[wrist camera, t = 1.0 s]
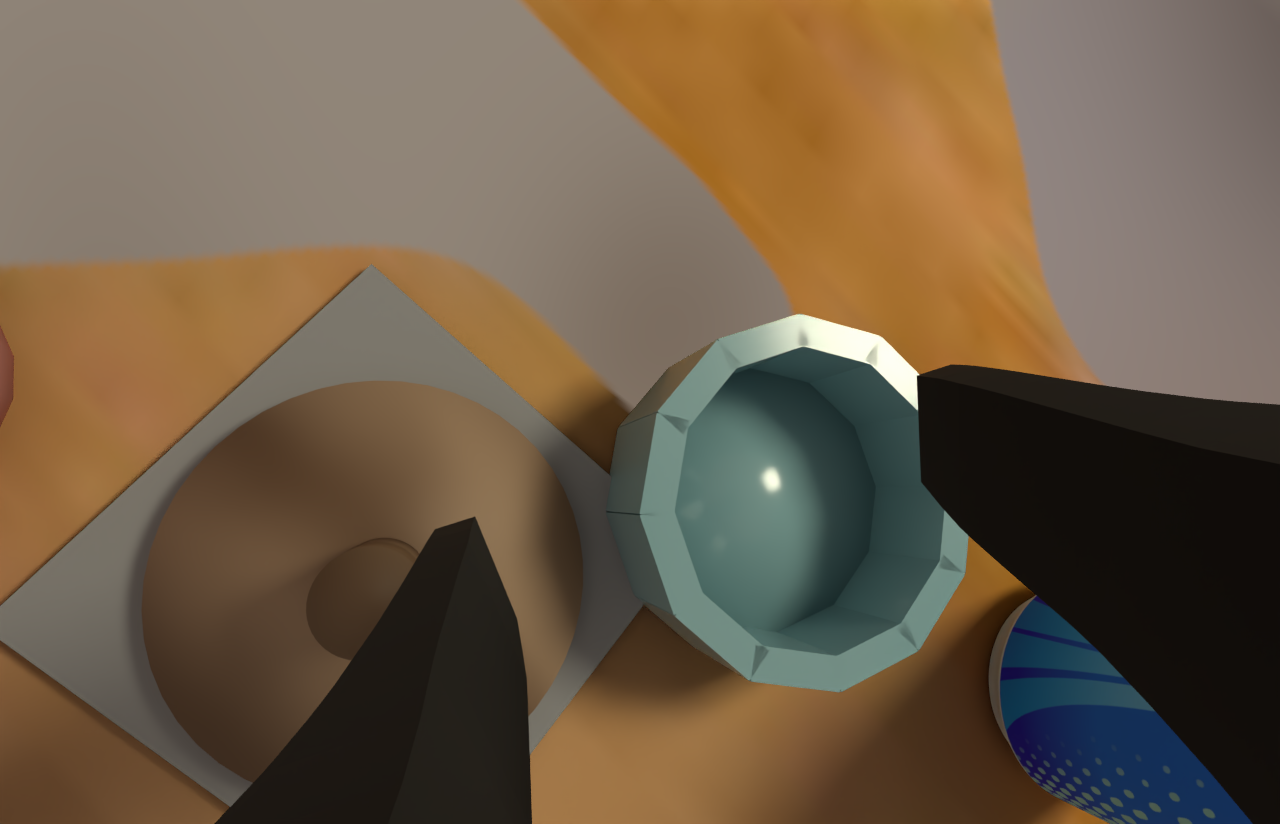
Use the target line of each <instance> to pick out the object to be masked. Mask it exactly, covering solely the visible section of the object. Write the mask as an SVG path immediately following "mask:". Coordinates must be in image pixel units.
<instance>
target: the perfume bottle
mask: <svg viewBox="0 0 1280 824" xmlns="http://www.w3.org/2000/svg"><path fill="white" fill-rule="evenodd" d="M13 373H14V356H13V354H12V351H11V349H10V347H9V345H8V342H7V340H6V338H5V336H4V333H3V331H2V329H1V327H0V426H1V424H2V422H3V420H4V417H5V415H6V413H7V411H8V409H9V407H10V404H11V402H12V400H13Z"/></svg>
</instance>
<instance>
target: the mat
mask: <svg viewBox="0 0 1280 824" xmlns="http://www.w3.org/2000/svg"><path fill="white" fill-rule="evenodd" d="M363 381H402V382H409V383H416V384H422V385H428V386H432V387H436V388H439V389H443V390H446V391H450V392H453V393H456V394H458V395H460V396H463V397H465V398H468V399H470V400H472V401H475V402H477V403H479V404H481V405H482V406H484V407H486V408H487V409H489V410H491V411H493V412H494V413H496V414H498V415H499V416H501V417H502V418H503V419H505V420H506V421H507V422H509V423H510V424H511V425H512V426H514V427H515V428H516V429H518V430H519V431H520V432H521V433H522V434H523V435H524V436H525V437H526V438H527V439H528V440H529V441H530V442H531V443H532V444H533V445H534V446H535V447H536V448H537V449H538V451H539V452H540V453H541V455H542V456H543V457H544V458H545V460H546V461H547V462H548V464H549V465H550V466H551V468H552V469H553V471H554V473H555V474H556V476H557V478H558V480H559V481H560V483H561V485H562V487H563V488H564V491H565V493H566V495H567V498H568V500H569V503H570V505H571V507H572V510H573V513H574V517H575V520H576V524H577V528H578V531H579V535H580V542H581V550H582V557H583V590H582V598H581V606H580V613H579V617H578V621H577V625H576V629H575V633H574V637H573V639H572V642H571V645H570V647H569V650H568V652H567V655H566V658H565V660H564V662H563V664H562V666H561V668H560V670H559V672H558V674H557V676H556V678H555V680H554V682H553V683H552V685H551V687H550V688H549V690H548V691H547V693H546V694H545V695H544V697H543V698H542V700H541V701H540V703H539V704H538V706H537V707H536V708H535V710H534V711H533V712H532V713H531V714H530V715H529V716H528V719H529V749H530V754H531V753H532V751H533V750H534V749H535V747H536V746H537V745H538V743H539V742H540V741H541V740H542V738H543V737H544V736H545V734H546V733H547V732H548V730H549V729H550V728H551V726H552V725H553V724H554V722H555V721H556V720H557V718H558V717H559V716H560V714H561V713H562V712H563V711H564V709H565V708H566V707H567V705H568V704H569V703H570V701H571V700H572V699H573V697H574V696H575V695H576V693H577V692H578V691H579V689H580V688H581V687H582V685H583V684H584V683H585V682H586V680H587V679H588V678H589V676H590V675H591V674H592V672H593V671H594V670H595V668H596V667H597V666H598V664H599V663H600V662H601V660H602V659H603V658H604V656H605V655H606V654H607V653H608V651H609V650H610V649H611V647H612V646H613V645H614V643H615V642H616V641H617V639H618V638H619V637H620V635H621V634H622V633H623V631H624V630H625V629H626V627H627V626H628V625H629V624H630V622H631V621H632V620H633V618H634V617H635V616H636V614H637V613H638V612H639V610H640V609H641V608H642V606H643V605H644V603H642V602H641V601H640V600H639V599H638V598H637V597H636V596H635V595H634V594H633V591H632V588H631V585H630V582H629V579H628V576H627V573H626V570H625V568H624V565H623V562H622V559H621V556H620V553H619V550H618V547H617V544H616V541H615V538H614V535H613V532H612V529H611V527H610V524H609V521H608V518H607V515H606V512H608V511H606V506H607V500H608V495H609V489H610V484H611V478H612V477H611V476H610V475H609V474H608V473H607V472H606V471H604V470H603V469H602V468H601V467H600V466H599V465H598V464H597V463H595V462H594V461H593V460H592V459H591V458H590V457H589V456H587V455H586V454H585V453H584V452H583V451H582V450H581V449H580V448H578V447H577V446H576V445H575V444H574V443H573V442H572V441H571V440H569V439H568V438H567V437H566V436H565V435H564V434H563V433H562V432H560V431H559V430H558V429H557V428H556V427H555V426H554V425H552V424H551V423H550V422H549V421H548V420H547V419H546V418H545V417H543V416H542V415H541V414H540V413H539V412H538V411H537V410H536V409H534V408H533V407H532V406H531V405H530V404H529V403H528V402H527V401H525V400H524V399H523V398H522V397H521V396H520V395H519V394H517V393H516V392H515V391H514V390H513V389H512V388H511V387H510V386H508V385H507V384H506V383H505V382H504V381H503V380H502V379H501V378H499V377H498V376H497V375H496V374H495V373H494V372H493V371H492V370H490V369H489V368H488V367H487V366H486V365H485V364H484V363H482V362H481V361H480V360H479V359H478V358H477V357H476V356H475V355H473V354H472V353H471V352H470V351H469V350H468V349H467V348H466V347H464V346H463V345H462V344H461V343H460V342H459V341H458V340H457V339H455V338H454V337H453V336H452V335H451V334H450V333H449V332H447V331H446V330H445V329H444V328H443V327H442V326H441V325H440V324H438V323H437V322H436V321H435V320H434V319H433V318H432V317H431V316H429V315H428V314H427V313H426V312H425V311H424V310H423V309H422V308H420V307H419V306H418V305H417V304H416V303H415V302H414V301H412V300H411V299H410V298H409V297H408V296H407V295H406V294H405V293H403V292H402V291H401V290H400V289H399V288H398V287H397V286H396V285H394V284H393V283H392V282H391V281H390V280H389V279H388V278H387V277H385V276H384V275H383V274H382V273H381V272H380V271H379V270H377V269H376V268H375V267H374V266H373V265H372V264H371V265H370V266H369V267H368V268H367V269H365V270H364V271H363V272H362V273H361V274H360V275H359V276H358V277H357V278H356V279H355V280H354V281H352V282H351V283H350V284H349V285H348V286H347V287H346V288H345V289H344V290H343V291H342V292H341V293H339V294H338V295H337V296H336V297H335V298H334V299H333V300H332V301H331V302H330V303H329V304H327V305H326V306H325V307H324V308H323V309H322V310H321V311H320V312H319V313H318V314H317V315H316V316H314V317H313V318H312V319H311V320H310V321H309V322H308V323H307V324H306V325H305V326H304V327H303V328H301V329H300V330H299V331H298V332H297V333H296V334H295V335H294V336H293V337H292V338H291V339H290V340H288V341H287V342H286V343H285V344H284V345H283V346H282V347H281V348H280V349H279V350H278V351H276V352H275V353H274V354H273V355H272V356H271V357H270V358H269V359H268V360H267V361H266V362H265V363H263V364H262V365H261V366H260V367H259V368H258V369H257V370H256V371H255V372H254V373H253V374H252V375H250V376H249V377H248V378H247V379H246V380H245V381H244V382H243V383H242V384H241V385H240V386H238V387H237V388H236V389H235V390H234V391H233V392H232V393H231V394H230V395H229V396H228V397H227V398H225V399H224V400H223V401H222V402H221V403H220V404H219V405H218V406H217V407H216V408H215V409H214V410H212V411H211V412H210V413H209V414H208V415H207V416H206V417H205V418H204V419H203V420H202V421H201V422H199V423H198V424H197V425H196V426H195V427H194V428H193V429H192V430H191V431H190V432H189V433H187V434H186V435H185V436H184V437H183V438H182V439H181V440H180V441H179V442H178V443H177V444H176V445H174V446H173V447H172V448H171V449H170V450H169V451H168V452H167V453H166V454H165V455H164V456H163V457H161V458H160V459H159V460H158V461H157V462H156V463H155V464H154V465H153V466H152V467H151V468H149V469H148V470H147V471H146V472H145V473H144V474H143V475H142V476H141V477H140V478H139V479H138V480H136V481H135V482H134V483H133V484H132V485H131V486H130V487H129V488H128V489H127V490H126V491H125V492H123V493H122V494H121V495H120V496H119V497H118V498H117V499H116V500H115V501H114V502H113V503H112V504H110V505H109V506H108V507H107V508H106V509H105V510H104V511H103V512H102V513H101V514H100V515H98V516H97V517H96V518H95V519H94V520H93V521H92V522H91V523H90V524H89V525H88V526H87V527H85V528H84V529H83V530H82V531H81V532H80V533H79V534H78V535H77V536H76V537H75V538H74V539H72V540H71V541H70V542H69V543H68V544H67V545H66V546H65V547H64V548H63V549H62V550H60V551H59V552H58V553H57V554H56V555H55V556H54V557H53V558H52V559H51V560H50V561H49V562H47V563H46V564H45V565H44V566H43V567H42V568H41V569H40V570H39V571H38V572H37V573H36V574H34V575H33V576H32V577H31V578H30V579H29V580H28V581H27V582H26V583H25V584H24V585H23V586H21V587H20V588H19V589H18V590H17V591H16V592H15V593H14V594H13V595H12V596H11V597H9V598H8V599H7V600H6V601H5V602H4V603H3V604H2V605H1V606H0V640H1V641H2V642H3V643H5V644H6V645H8V646H9V647H10V648H12V649H13V650H14V651H16V652H17V653H19V654H20V655H21V656H23V657H24V658H25V659H27V660H28V661H30V662H31V663H32V664H34V665H35V666H36V667H38V668H39V669H41V670H42V671H43V672H45V673H46V674H48V675H49V676H50V677H52V678H53V679H54V680H56V681H57V682H59V683H60V684H61V685H63V686H64V687H65V688H67V689H68V690H70V691H71V692H72V693H74V694H75V695H76V696H78V697H79V698H81V699H82V700H83V701H85V702H86V703H88V704H89V705H90V706H92V707H93V708H94V709H96V710H97V711H99V712H100V713H101V714H103V715H104V716H105V717H107V718H108V719H110V720H111V721H112V722H114V723H115V724H116V725H118V726H119V727H121V728H122V729H123V730H125V731H126V732H127V733H129V734H130V735H132V736H133V737H134V738H136V739H137V740H139V741H140V742H141V743H143V744H144V745H145V746H147V747H148V748H150V749H151V750H152V751H154V752H155V753H156V754H158V755H159V756H161V757H162V758H163V759H165V760H166V761H167V762H169V763H170V764H172V765H173V766H174V767H176V768H177V769H179V770H180V771H181V772H183V773H184V774H185V775H187V776H188V777H190V778H191V779H192V780H194V781H195V782H196V783H198V784H199V785H201V786H202V787H203V788H205V789H206V790H207V791H209V792H210V793H212V794H213V795H214V796H216V797H217V798H219V799H220V800H221V801H223V802H224V803H225V804H227V805H228V806H230V807H231V806H232V805H233V804H234V803H235V802H236V800H237V799H238V798H239V797H240V796H241V795H242V794H243V793H244V792H245V791H246V790H247V789H248V788H249V787H250V786H251V785H252V782H250V781H248V780H245V779H243V778H242V777H240V776H239V775H237V774H235V773H234V772H232V771H230V770H229V769H227V768H226V767H224V766H222V765H221V764H219V763H218V762H217V761H216V760H214V759H213V758H212V757H211V756H210V755H209V754H207V753H206V752H205V751H204V750H203V749H202V748H201V747H199V746H198V745H197V744H196V743H195V742H194V741H193V739H192V738H191V737H190V736H189V735H188V734H187V732H186V731H185V730H184V729H183V728H182V726H181V725H180V724H179V723H178V722H177V720H176V719H175V717H174V715H173V714H172V712H171V710H170V709H169V707H168V705H167V704H166V702H165V701H164V699H163V697H162V695H161V693H160V690H159V688H158V686H157V683H156V681H155V678H154V676H153V673H152V671H151V668H150V664H149V660H148V656H147V651H146V647H145V643H144V636H143V624H142V611H141V609H142V595H143V581H144V576H145V571H146V567H147V562H148V558H149V553H150V549H151V547H152V544H153V541H154V539H155V536H156V533H157V531H158V528H159V525H160V523H161V520H162V519H163V517H164V515H165V513H166V511H167V509H168V507H169V506H170V504H171V502H172V500H173V498H174V496H175V494H176V493H177V492H178V490H179V489H180V488H181V486H182V485H183V483H184V482H185V481H186V479H187V478H188V476H189V475H190V474H191V472H192V471H193V470H194V469H195V467H196V466H197V465H198V464H199V463H200V462H201V461H202V460H203V459H204V458H205V457H206V456H207V455H208V454H209V453H210V451H211V450H212V449H213V448H214V447H215V446H217V445H218V444H219V443H220V442H221V441H223V440H224V439H225V438H226V437H227V436H229V435H230V434H231V433H232V432H233V431H235V430H236V429H237V428H238V427H240V426H241V425H243V424H245V423H246V422H248V421H249V420H251V419H252V418H254V417H256V416H257V415H259V414H260V413H262V412H263V411H265V410H267V409H270V408H272V407H274V406H276V405H278V404H280V403H282V402H284V401H286V400H288V399H290V398H293V397H296V396H299V395H302V394H305V393H308V392H311V391H314V390H317V389H321V388H325V387H330V386H335V385H339V384H344V383H352V382H363Z"/></svg>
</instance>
